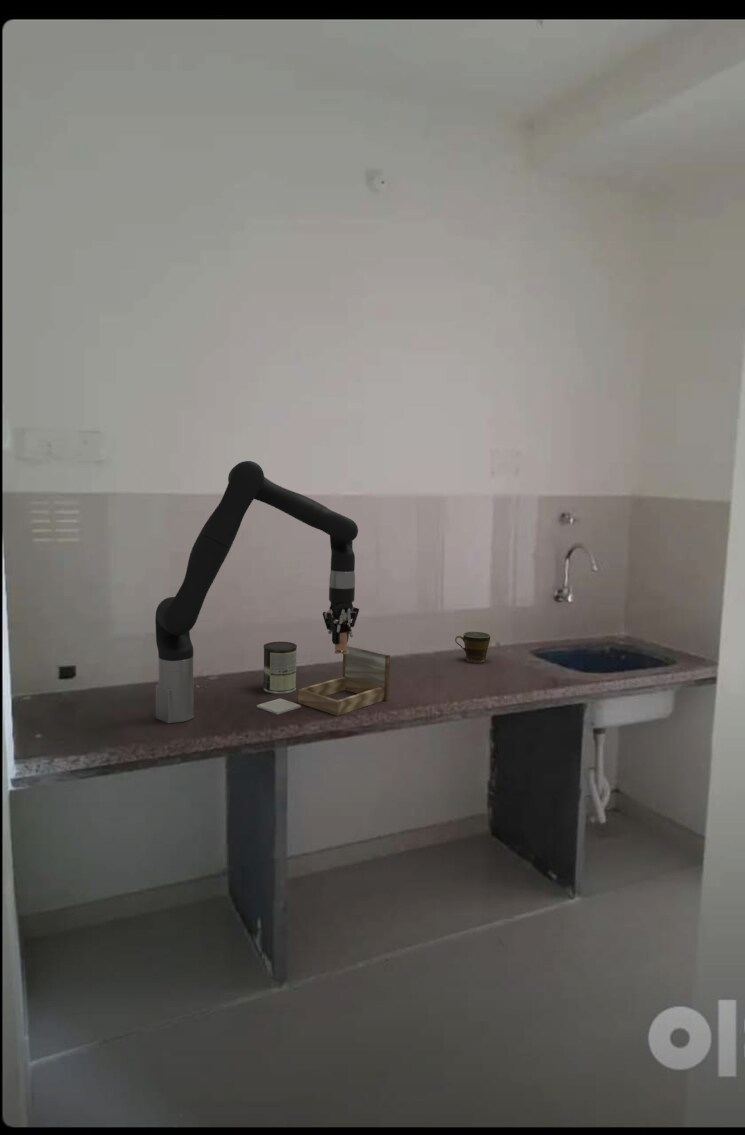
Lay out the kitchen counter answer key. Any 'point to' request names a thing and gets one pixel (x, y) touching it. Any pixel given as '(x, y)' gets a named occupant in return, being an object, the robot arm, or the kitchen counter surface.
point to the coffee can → (280, 667)
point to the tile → (278, 706)
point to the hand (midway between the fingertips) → (340, 642)
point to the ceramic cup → (475, 646)
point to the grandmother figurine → (343, 636)
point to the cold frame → (352, 683)
